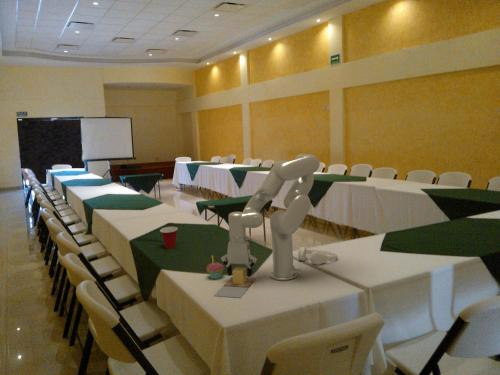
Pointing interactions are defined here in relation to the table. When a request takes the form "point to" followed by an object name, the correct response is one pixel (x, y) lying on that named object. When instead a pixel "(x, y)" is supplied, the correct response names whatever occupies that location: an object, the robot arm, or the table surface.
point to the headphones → (316, 255)
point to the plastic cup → (169, 236)
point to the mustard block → (239, 275)
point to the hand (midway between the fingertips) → (239, 275)
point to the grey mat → (231, 292)
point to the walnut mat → (246, 284)
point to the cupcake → (215, 269)
